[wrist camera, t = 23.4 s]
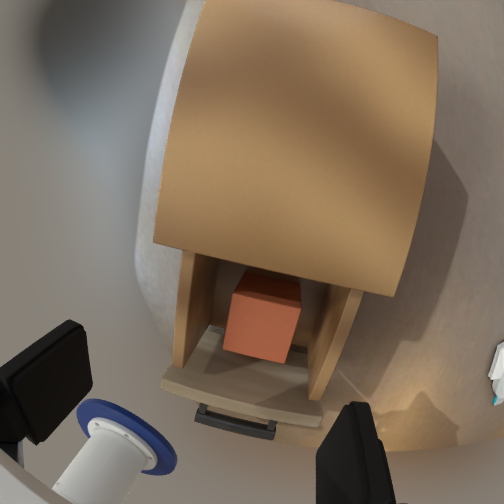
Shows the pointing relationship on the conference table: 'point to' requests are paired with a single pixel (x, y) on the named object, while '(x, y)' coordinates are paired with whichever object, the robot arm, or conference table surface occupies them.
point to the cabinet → (301, 141)
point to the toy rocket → (498, 374)
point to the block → (263, 317)
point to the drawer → (247, 367)
